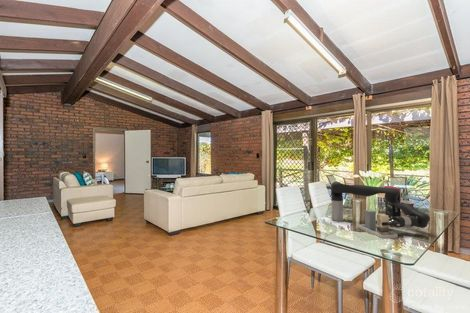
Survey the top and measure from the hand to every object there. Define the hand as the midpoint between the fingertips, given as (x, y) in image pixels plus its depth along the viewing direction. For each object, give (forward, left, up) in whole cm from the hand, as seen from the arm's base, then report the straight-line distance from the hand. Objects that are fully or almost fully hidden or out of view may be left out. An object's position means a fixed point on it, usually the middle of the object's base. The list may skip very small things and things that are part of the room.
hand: (379, 223), depth 173 cm
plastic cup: (+33, +77, -10) cm, 84 cm away
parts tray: (-1, +7, -10) cm, 12 cm away
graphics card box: (+18, +59, -10) cm, 62 cm away
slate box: (-4, +13, -9) cm, 16 cm away
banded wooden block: (+2, +1, -9) cm, 9 cm away
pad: (-9, -5, -10) cm, 14 cm away
